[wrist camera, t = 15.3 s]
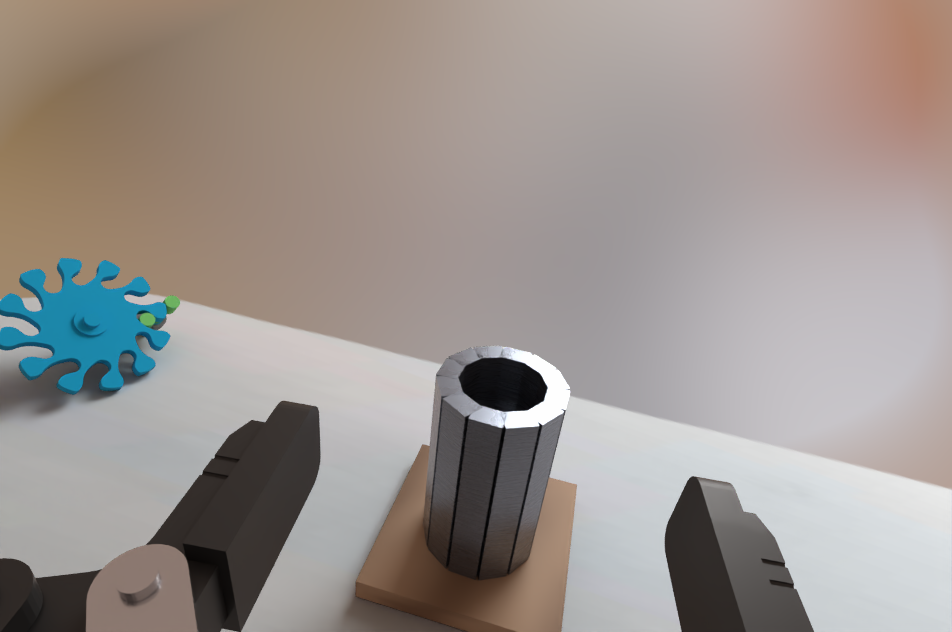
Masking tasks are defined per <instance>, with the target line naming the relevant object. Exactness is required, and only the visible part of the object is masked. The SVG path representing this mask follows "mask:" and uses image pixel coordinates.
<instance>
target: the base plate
mask: <svg viewBox="0 0 952 632" xmlns="http://www.w3.org/2000/svg"><path fill="white" fill-rule="evenodd" d="M429 449H430V446H427V445H422V447H421V449H420V451H419V453H418V455H417V457H416V459H415V461H414V463H413V465H412V467H411V469H410V471H409V473H408V475H407V478H406V480H405V482H404V484H403V486H402V488H401V490H400V492H399V494H398V496H397V498H396V500H395V502H394V504H393V506H392V508H391V510H390V512H389V514H388V516H387V519H386V521H385V523H384V525H383V527H382V529H381V531H380V533H379V535H378V537H377V539H376V541H375V543H374V545H373V547H372V549H371V551H370V553H369V555H368V557H367V559H366V562H365V564H364V566H363V568H362V570H361V572H360V574H359V576H358V578H357V580H356V597H359V598H363V599H366V600H369V601H372V602H375V603H378V604H382V605H385V606H388V607H391V608H394V609H397V610H401V611H404V612H407V613H410V614H413V615H416V616H420V617H423V618H426V619H429V620H432V621H435V622H439V623H442V624H445V625H448V626H451V627H454V628H458V629H461V630H464V631H467V632H561V628H562V619H563V610H564V601H565V591H566V582H567V573H568V563H569V554H570V545H571V535H572V526H573V517H574V507H575V498H576V489H577V485H576V484H572V483H568V482H564V481H560V480H557V479H553V478H549V480H548V484H547V488H546V492H545V496H544V500H543V504H542V508H541V512H540V516H539V520H538V524H537V528H536V532H535V536H534V540H533V544H532V548H531V552H530V556H529V557H528V560H527V561H525V562H524V563H523V564H522V565H521V566H519V567H518V568H517V569H516V570H515V571H513V572H512V573H511V574H510V575H508V574H507V575H506V577H499V578H493V579H486V580H478V576H477V577H476V580H473V579H471V578H468V577H465V576H462V575H459V574H456V573H454V572H451V571H448V569H449V567H448V568H446V569H445V568H444V567H443V565H442V564H441V563H440V562H439V561H438V560H437V559H436V558H435V557H434V556H433V554H432V553H431V552H430V551H429V550H428V547H427V546H426V540H425V534H424V528H423V516H424V504H425V493H426V482H427V471H428V460H429Z"/></svg>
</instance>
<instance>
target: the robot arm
mask: <svg viewBox="0 0 952 632" xmlns="http://www.w3.org/2000/svg"><path fill="white" fill-rule="evenodd" d="M319 465H320V428H319V410H318V408H317V407H316V406H310V405H305V404H299V403H294V402H288V401H281V402H280V403H279V404H278V405H277V406H276V408H275V409H274V411H273V412H272V413H271V415H270V416H269V418H268V419H267V421H266V422H260V421H254V420H251V421H250V422H248V423H247V424H245V425H244V426H242V427H241V428H240V429H238V430H237V431H235V432H234V433H232V434H231V435H229V437H228V438H227V439H226V441H225V442H224V443H223V445H222V446H221V448H220V449H219V450H218V452H217V453H216V454H215V458H214V459H212V460H211V461H210V462H209V464H208V465H207V466H206V468H205V469H204V470H203V474H202V475H200V476H199V477H198V478H197V480H196V481H195V482H194V484H193V485H192V486H191V488H190V489H189V490H188V492H187V493H186V494H185V496H184V497H183V498H182V500H181V501H180V502H179V504H178V505H177V506H176V508H175V509H174V510H173V512H172V513H171V514H170V516H169V517H168V518H167V520H166V521H165V522H164V524H163V525H162V526H161V528H160V529H159V530H158V532H157V533H156V534H155V536H154V537H153V538H152V539H151V540H150V541H149V542H148V543H147V544H146V545H145V546H141V547H137V548H134V549H132V550H129V551H127V552H125V553H123V554H121V555H120V556H118V557H117V558H115V559H113V560H112V561H111V562H110V563H108V564H107V565H106V566H105V567H104V568H103V569H101V570H98V571H92V572H86V573H77V574H68V575H60V576H51V577H42V578H35V577H34V575H33V573H32V571H31V569H30V567H29V566H28V565H26V564H25V563H24V562H21V561H19V560H15V559H7V558H3V559H0V632H220V631H221V629H222V628H223V629H228V630H233V631H238V632H241V630H242V628H243V626H244V624H245V622H246V620H247V618H248V616H249V614H250V612H251V610H252V608H253V606H254V604H255V602H256V600H257V598H258V596H259V594H260V592H261V590H262V588H263V586H264V584H265V582H266V580H267V578H268V576H269V574H270V572H271V570H272V568H273V566H274V564H275V562H276V560H277V558H278V556H279V554H280V552H281V550H282V548H283V546H284V544H285V542H286V540H287V538H288V536H289V534H290V532H291V530H292V528H293V526H294V524H295V522H296V520H297V518H298V516H299V514H300V512H301V510H302V508H303V506H304V504H305V502H306V500H307V498H308V496H309V494H310V492H311V490H312V488H313V485H314V483H315V480H316V477H317V474H318V470H319ZM665 553H666V558H667V563H668V568H669V572H670V577H671V582H672V587H673V592H674V597H675V601H676V606H677V611H678V616H679V621H680V625H681V630H682V632H814V630H813V628H812V626H811V623H810V621H809V618H808V616H807V614H806V611H805V609H804V607H803V604H802V602H801V599H800V597H799V595H798V592H797V590H796V589H794V583H793V580H792V578H791V575H790V573H789V571H788V568H785V561H784V559H783V556H782V554H781V552H780V549H779V547H778V544H777V542H776V540H775V537H774V536H773V535H772V534H771V533H770V531H769V530H768V529H767V528H766V526H765V525H764V524H763V523H762V522H761V520H760V519H759V518H758V517H757V515H756V514H753V513H748V512H743V509H742V507H741V504H740V501H739V499H738V496H737V493H736V491H735V489H734V487H733V485H731V484H730V483H728V482H722V481H716V480H711V479H705V478H700V477H694V476H693V477H691V478H689V480H688V481H687V483H686V485H685V487H684V490H683V492H682V494H681V496H680V498H679V500H678V502H677V504H676V506H675V509H674V511H673V513H672V515H671V517H670V519H669V521H668V524H667V528H666V533H665Z"/></svg>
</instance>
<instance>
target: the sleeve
mask: <svg viewBox="0 0 952 632" xmlns="http://www.w3.org/2000/svg"><path fill="white" fill-rule="evenodd" d="M531 355H532V353H529V352H525V351H521V350H517V349H513V348H509V347H504V348H503V349H502V347H501V346H487V347H485V346H483V347H474V348H473V349H472V348H468V349H466V350H463V351H461V352H459V353H456V354H454V355H452V356H449V358H447V359H446V360H445V362H444V363H443V365H442V366H441V368H440V369H439V371H438V372H437V374H436V382H435V393H434V404H433V415H432V426H431V437H430V449H429V460H428V471H427V482H426V493H425V504H424V516H423V528H424V534H425V540H426V546H427V547H428V550H429V551H430V552H431V553H432V554H433V556H434V557H435V558H436V559H437V560H438V561H439V562H440V563H441V564H442V565H443V567H444V568H445V569H446V568H448V567H449V569H448V571H451V572H454V573H456V574H459V575H462V576H465V577H468V578H471V579H473V580H476V577H477V576H478V580H486V579H493V578H499V577H506V575H507V574H508V575H510V574H511V573H512V572H513V571H515V570H516V569H517V568H518V567H519V566H521V565H522V564H523V563H524V562H525V561H527V560H528V557H529V556H530V552H531V548H532V544H533V540H534V536H535V532H536V528H537V524H538V520H539V516H540V512H541V508H542V504H543V500H544V496H545V492H546V488H547V484H548V480H549V475H550V471H551V467H552V463H553V459H554V455H555V451H556V447H557V443H558V439H559V435H560V431H561V427H562V423H563V419H564V415H565V411H566V407H567V403H568V399H569V395H570V391H569V390H570V388H569V386H568V385H567V383H566V381H565V380H564V378H563V377H562V375H561V373H560V372H559V370H558V371H557V368H555V367H554V366H552V365H551V364H549V363H547V362H546V361H544V360H543V359H541V358H540V357H538V356H536V355H533V356H531Z"/></svg>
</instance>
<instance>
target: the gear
mask: <svg viewBox="0 0 952 632" xmlns="http://www.w3.org/2000/svg"><path fill="white" fill-rule="evenodd" d="M81 267H82V264H81V261H79V260H76V259H69V258H61V259H60V261H59V263H58V266H57V270H58V272H59V274H60V275H61V277H62V289H61V291H60V292H58V293H48V292H47V291H45V289H44V288H43V284H44V282H45V278H46V276H45V273H44V272H43V271H42V270H40V269H35V270H30V271H27V272H25V273H23V274H21V275H20V279H19V282H20V284H21V285H22V286H23V287H24V288H26V289H28V290H29V291H31V292H33V294H35V295H36V297H37V298H38V299H39V302H40V304H41V307H42V310H40V311H37V312H32V311H29V310H27V309H26V308H25V307H24V304H23V301H22V299H21V298H20V297H19V296H17V295H15V294H8V295H7V296H5V297H4V298H3V299H2V300H1V301H0V315H2V316H6V317H16V318H20V319H23V320H25V321H27V322H29V323H30V324H32V325H33V326H34V327H36V328H37V329H38V331H39V334H37V335H35V336H27V335H25V334H23V333H22V332H20V331H19V330H18V329H16V328H13V327H4V328H2V329H1V331H0V349H2V350H13V349H15V348H18V347H23V346H37V347H43V348H47V349H49V350H51V351H52V353H53V356H52V357H50V358H47V359H42V358H37V357H27V358H25V359H23V360H22V361H21V362H20V364H19V369H20V371H21V373H22V374H23V375H24V376H25V377H26V378H27V379H28V380H34V379H36V378H38V377H40V376H41V375H42V373H43V372H44V371H45V370H47V369H48V368H50V367H52V366H54V365H56V364H60V363H64V362H74V363H76V364H77V365H78V367H79V370H78V371H77V372H73V373H69V374H66V375H64V376H62V377H61V378H60V379H59V381H58V383H57V388H58V389H60V390H62V391H63V392H66V393H69V394H72V395H74V394H76V393H77V392H79V390H80V389H81V387H82V385H83V378H84V375H85V373H86V372H87V371H88V370H89V369H90V368H91V367H92V366H93V365H95V364H97V363H102V364H105V365H107V367H108V368H109V372H108V373H107V374H106V375H104V376H103V378H102V379H101V380H100V382H99V388H100V390H103V391H115V390H119V389H120V388H121V387H122V386H123V383H124V380H123V377H122V376H121V374H120V372H119V369H118V361H119V357H120V355H121V354H123V353H128V354H130V355H132V356H133V358H134V362H133V366H132V371H133V373H134V374H135V375H137V376H140V375H143V374H145V373H147V372H149V371H150V370H152V369H153V368H154V367H155V366H156V365H155V361H154V360H153V359H152V358H150V357H148V356H146V355H145V354H144V353H143V352H142V351H141V350H140V349H139V347H138V345H137V343H136V340H135V336H138V335H142V336H145V337H146V338H147V340H148V342H149V345H150V347H151V348H152V349H154V350H157V351H160V350H161V349H162V348H163V347H164V346H165V345H166V344H167V342H168V340H169V338H170V334H168V333H167V332H165V331H157V330H158V329H160V328H161V327H162V326H163V325H164V324H165V322H166V315H167V314H171V313H173V312H174V311H175V310H176V308H177V307H178V306H179V304H180V300H179V299H178V298H177V297H176V296H168V297H167V298H166V299H165V300H164V301H163V303H161V302H157V303H154V304H151V305H138V304H134V303H130V302H128V301H126V300H125V298H124V295H134V296H138V297H142V296H145V295H146V294H147V293H148V292H149V290H150V286H149V284H148V283H147V282H146V280H145V279H144V278H143V277H137V278H135V279H133V280H132V282H131V283H129V284H128V285H126V286H125V287H122V288H117V289H106V288H104V287H103V286H102V285H101V282H102V281H108V280H113V279H115V278H116V277H117V275H118V273H119V271H120V268H119V267H117V266H116V265H115V264H113V263H111V262H109V261H106V260H104V261H102V262H101V263H100V264H99V266H98V268H97V274H96V277H95V278H94V279H93V280H92V281H90V282H89V283H88V284H86V285H82V286H80V285H76V284H75V283H73V281H72V278H73V277H75V276H76V275H78V273H79V272H80V269H81Z"/></svg>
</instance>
